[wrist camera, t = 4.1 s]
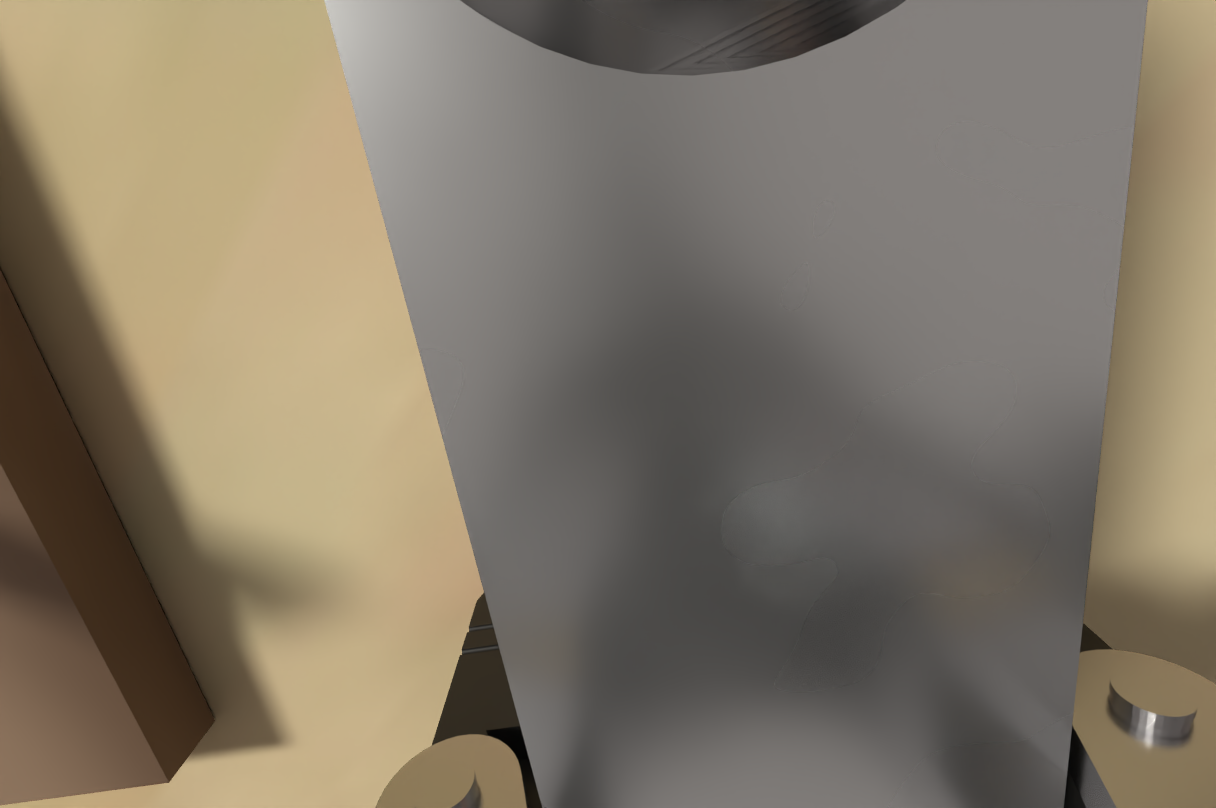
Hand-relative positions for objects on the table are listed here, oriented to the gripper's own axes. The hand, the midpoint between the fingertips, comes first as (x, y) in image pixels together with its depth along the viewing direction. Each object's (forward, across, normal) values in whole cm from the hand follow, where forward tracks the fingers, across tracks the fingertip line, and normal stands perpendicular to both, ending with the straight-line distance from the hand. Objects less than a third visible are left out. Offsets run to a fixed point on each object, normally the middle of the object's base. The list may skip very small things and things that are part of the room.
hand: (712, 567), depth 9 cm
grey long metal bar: (+1, 0, 0) cm, 1 cm away
